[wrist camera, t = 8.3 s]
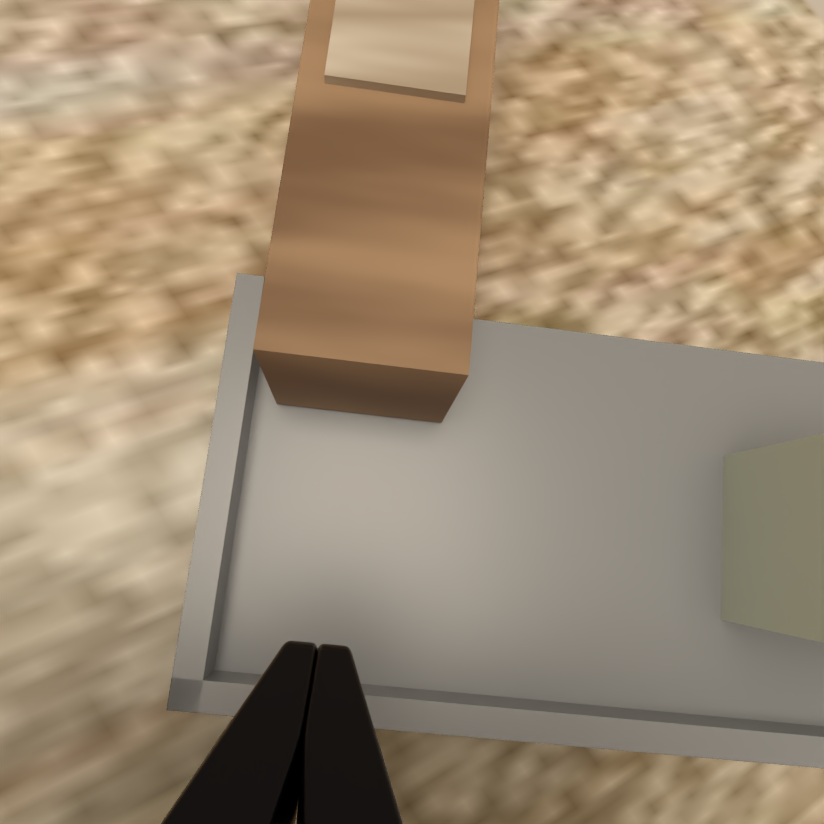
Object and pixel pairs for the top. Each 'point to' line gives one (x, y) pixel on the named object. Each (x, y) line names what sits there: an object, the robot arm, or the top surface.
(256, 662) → the parts tray
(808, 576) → the sage box
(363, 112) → the walnut box
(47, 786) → the top surface
